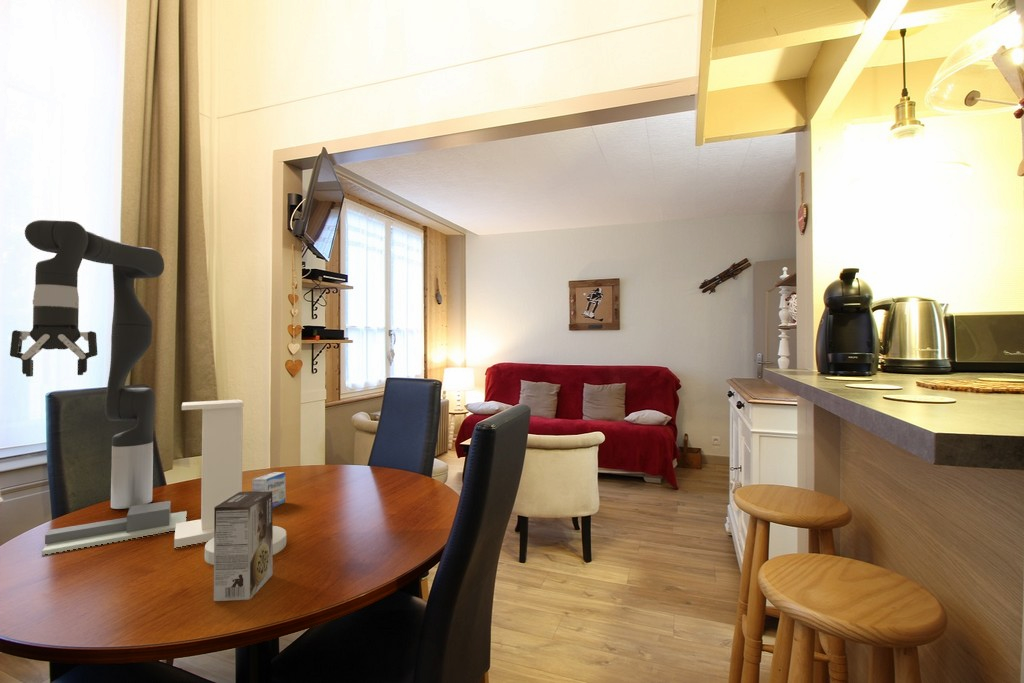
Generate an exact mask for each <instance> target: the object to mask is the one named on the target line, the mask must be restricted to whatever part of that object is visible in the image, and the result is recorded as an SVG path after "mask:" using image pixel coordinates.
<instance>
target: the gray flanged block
mask: <svg viewBox="0 0 1024 683" xmlns="http://www.w3.org/2000/svg"><path fill="white" fill-rule="evenodd" d="M171 502H172V501H171V500H165V501H159V502H153V503H151V502H150V503H148V504H145V505H138V506H131V507H130V508H128V512H127V515H126V517H121V518H115V519H109V520H102V521H96V522H95V521H94V522H91V523H85V524H84V523H83V524H79V525H73V526H72V525H71V526H66V527H59V528H53V529H49V530H48V532H46V534H45V536H44V545H47V544H51V543H57V542H63V541H68V540H74V539H80V538H86V537H92V536H97V535H103V534H109V533H115V532H120V531H126V530H127V533H129V532H134V531H140V530H146V529H151V528H157V527H163V526H168V525H169V523H170V514H171V506H172V505H171Z"/></svg>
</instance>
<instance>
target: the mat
mask: <svg viewBox="0 0 1024 683" xmlns="http://www.w3.org/2000/svg"><path fill="white" fill-rule="evenodd" d="M187 512H188V511H187V510H184V511H178V512H170V523H169V525H168V526H163V527H157V528H151V529H146V530H140V531H134V532H129V533H127V530H126V531H120V532H115V533H109V534H103V535H97V536H92V537H86V538H80V539H74V540H68V541H63V542H57V543H51V544H45V547H44V548H43V549H42V551H41V556H42V555H43V556H46V555H45V554H48V555H52V554H51V553H54V554H57V553H56V552H59V553H64V552H63V551H65V552H68V551H67V550H70V551H74V550H73V549H76V550H79V549H78V548H81V549H85V548H84V547H87V548H91V547H90V546H92V547H96V546H95V545H98V546H102V545H101V544H103V545H107V543H109V544H113V543H112V542H114V543H119V542H118V541H120V542H124V541H123V540H125V541H129V540H128V539H131V540H133V539H132V538H136V539H138V538H137V537H142V538H144V537H143V536H147V535H153V534H158V533H164V532H169V531H175V528H176V523H182V522H187V518H186V517H187V516H188V514H187ZM169 533H170V532H169ZM164 534H165V533H164ZM158 535H159V534H158ZM153 536H154V535H153ZM147 537H148V536H147Z"/></svg>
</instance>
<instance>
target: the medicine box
mask: <svg viewBox="0 0 1024 683" xmlns="http://www.w3.org/2000/svg"><path fill="white" fill-rule="evenodd" d="M252 491H261V492H267V491H273V492H272V505H273V507H274V508H277V506H281V505H282V503H283V504H285V503H286V472H284V471H282V472H280V471H273V472H270V473H267V474H264V475H261V476H258V477H256V478H252ZM284 502H285V503H284Z"/></svg>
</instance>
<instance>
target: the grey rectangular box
mask: <svg viewBox="0 0 1024 683" xmlns="http://www.w3.org/2000/svg"><path fill="white" fill-rule="evenodd" d="M272 492H273V491H267V492H261V491H253V490H252V491H242V492H239V493H237V494H235V495H234V496H232V497H230V498H229V499H227V500H226V501H224V502H222V503H221V504H219V505H217V506H216V507H214V565H213V601H214V602H226V601H247V600H248V601H249V600H251V599H252V598H253V597H255V595H256V594H257V593H258V592H259V590H261V588H262V587H263V586H264V585H265V584H266V583H267V581H269V579H270V578H272V576H273V573H274V572H273V571H274V568H273V563H274V561H273V559H274V558H273V526H274V525H273V524H274V523H273V522H274V521H273V517H274V516H273V511H274V510H273V509H274V508H273V505H272Z"/></svg>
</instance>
